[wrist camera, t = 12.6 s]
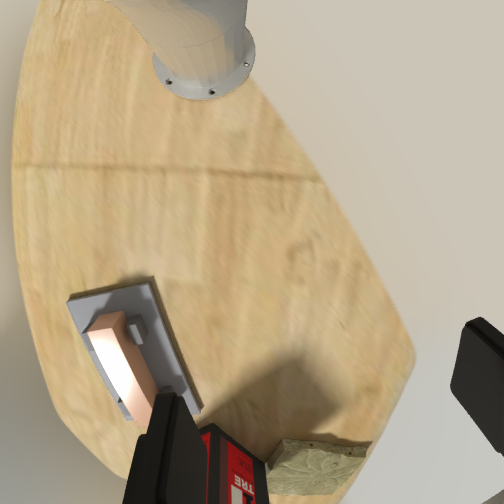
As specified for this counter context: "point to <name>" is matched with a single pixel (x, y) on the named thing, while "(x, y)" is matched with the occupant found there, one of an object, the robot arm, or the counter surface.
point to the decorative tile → (311, 467)
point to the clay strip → (124, 365)
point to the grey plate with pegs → (135, 338)
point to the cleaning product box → (232, 471)
